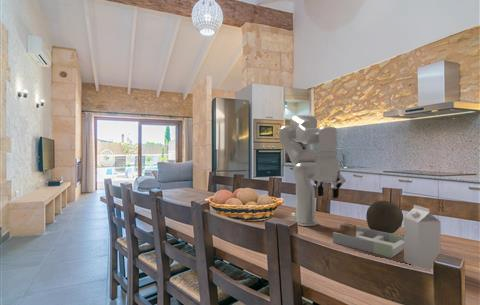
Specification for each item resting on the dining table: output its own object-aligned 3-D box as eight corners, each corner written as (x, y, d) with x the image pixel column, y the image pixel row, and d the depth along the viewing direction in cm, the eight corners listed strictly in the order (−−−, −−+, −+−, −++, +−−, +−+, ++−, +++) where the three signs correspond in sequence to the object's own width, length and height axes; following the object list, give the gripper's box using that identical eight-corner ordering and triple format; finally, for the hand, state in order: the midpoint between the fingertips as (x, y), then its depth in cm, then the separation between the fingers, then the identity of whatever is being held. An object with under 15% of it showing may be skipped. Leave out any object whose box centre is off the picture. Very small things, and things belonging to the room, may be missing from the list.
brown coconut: (386, 241, 110) (386, 205, 110) (359, 232, 123) (359, 199, 123) (410, 237, 115) (410, 202, 116) (381, 228, 129) (381, 197, 129)
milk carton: (424, 261, 90) (424, 204, 90) (441, 270, 83) (440, 208, 83) (403, 261, 90) (403, 204, 90) (418, 271, 83) (418, 209, 83)
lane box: (332, 242, 110) (332, 232, 110) (351, 234, 120) (351, 225, 120) (391, 257, 93) (391, 246, 93) (406, 247, 104) (406, 236, 104)
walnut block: (340, 235, 110) (340, 224, 110) (345, 233, 113) (345, 222, 113) (351, 238, 107) (350, 227, 107) (356, 236, 110) (356, 225, 110)
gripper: (305, 155, 121) (306, 195, 121) (342, 155, 108) (342, 200, 108) (315, 155, 126) (315, 193, 126) (351, 155, 113) (351, 198, 113)
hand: (328, 196), depth 117 cm, fingers open, 6 cm apart
